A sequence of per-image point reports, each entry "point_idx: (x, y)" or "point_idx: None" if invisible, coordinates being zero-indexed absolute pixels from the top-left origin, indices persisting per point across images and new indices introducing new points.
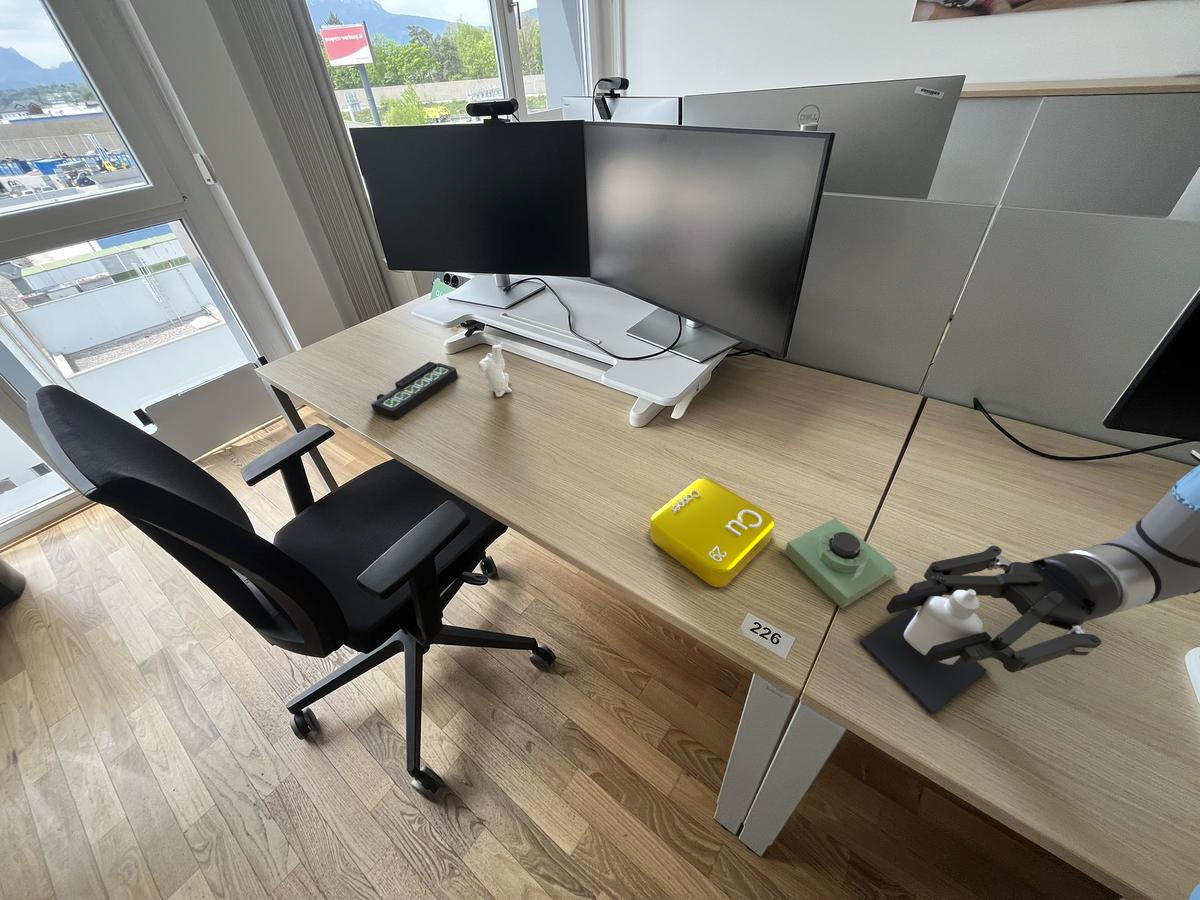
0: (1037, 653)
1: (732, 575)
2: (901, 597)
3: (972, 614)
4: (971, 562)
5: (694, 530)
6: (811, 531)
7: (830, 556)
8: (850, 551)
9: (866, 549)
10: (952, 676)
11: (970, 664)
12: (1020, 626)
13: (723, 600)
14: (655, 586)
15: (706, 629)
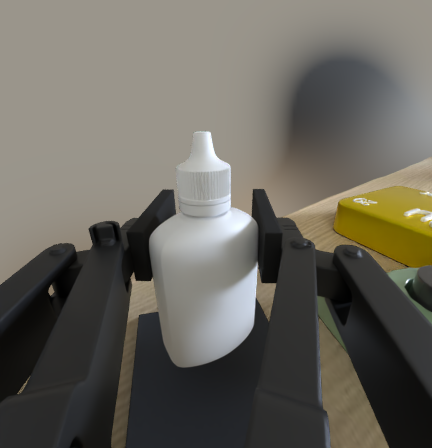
0: (19, 279)
1: (346, 226)
2: (259, 192)
3: (184, 224)
4: (410, 355)
5: (396, 197)
6: None
7: (401, 270)
8: (419, 275)
9: None
10: (157, 380)
11: (153, 444)
12: (86, 297)
13: (318, 229)
14: (329, 207)
15: (286, 217)
